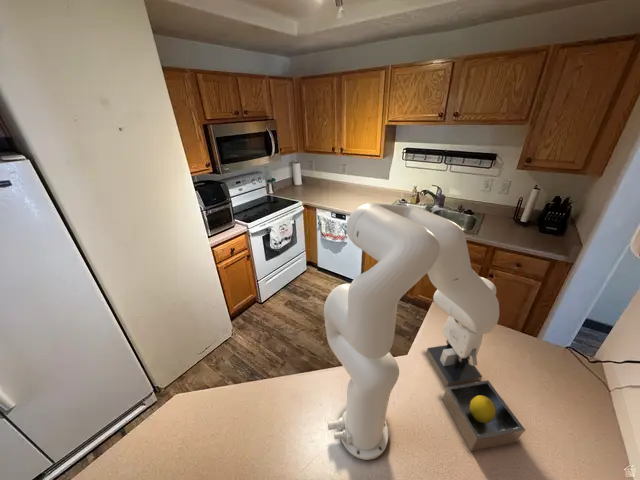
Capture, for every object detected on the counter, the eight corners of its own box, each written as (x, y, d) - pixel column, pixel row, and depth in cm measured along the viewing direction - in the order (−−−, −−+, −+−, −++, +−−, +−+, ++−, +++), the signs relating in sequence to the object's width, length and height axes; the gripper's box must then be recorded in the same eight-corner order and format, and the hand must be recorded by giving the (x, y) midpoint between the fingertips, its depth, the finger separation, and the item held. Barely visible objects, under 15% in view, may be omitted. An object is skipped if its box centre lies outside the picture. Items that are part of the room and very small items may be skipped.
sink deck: (446, 388, 77) (448, 382, 75) (425, 353, 87) (427, 347, 86) (479, 382, 78) (482, 376, 77) (456, 349, 88) (458, 343, 87)
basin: (470, 450, 63) (477, 439, 60) (442, 399, 74) (446, 387, 71) (517, 441, 65) (525, 429, 62) (482, 392, 76) (488, 380, 73)
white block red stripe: (443, 366, 80) (447, 355, 77) (439, 360, 82) (443, 349, 79) (467, 362, 81) (471, 351, 78) (463, 356, 83) (467, 345, 80)
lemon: (471, 402, 72) (479, 385, 69) (493, 418, 69) (503, 401, 65) (462, 416, 69) (470, 399, 66) (484, 434, 66) (494, 417, 62)
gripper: (439, 298, 79) (429, 339, 88) (476, 344, 64) (459, 387, 73) (462, 295, 80) (449, 336, 89) (504, 340, 65) (483, 383, 74)
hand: (454, 359), depth 81 cm, fingers open, 4 cm apart
